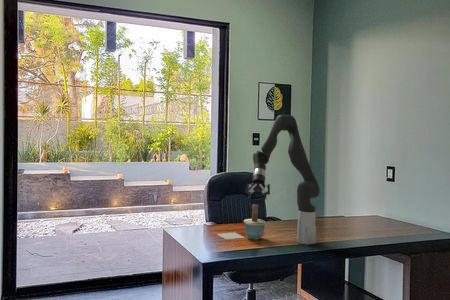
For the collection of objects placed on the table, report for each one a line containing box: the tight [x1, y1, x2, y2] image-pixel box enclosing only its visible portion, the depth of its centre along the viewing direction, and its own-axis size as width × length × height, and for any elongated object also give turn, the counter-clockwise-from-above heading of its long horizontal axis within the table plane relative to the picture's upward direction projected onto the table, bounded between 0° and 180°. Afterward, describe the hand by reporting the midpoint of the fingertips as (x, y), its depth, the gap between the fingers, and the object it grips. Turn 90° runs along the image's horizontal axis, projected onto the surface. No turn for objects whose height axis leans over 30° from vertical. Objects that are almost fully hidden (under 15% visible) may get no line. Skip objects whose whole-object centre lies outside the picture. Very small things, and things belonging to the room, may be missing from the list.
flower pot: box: [243, 222, 265, 241], centre depth 212 cm, size 9×9×9 cm
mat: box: [216, 232, 246, 240], centre depth 215 cm, size 12×12×1 cm
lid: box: [243, 203, 266, 226], centre depth 212 cm, size 12×12×10 cm
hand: (256, 198), depth 222 cm, fingers open, 8 cm apart
